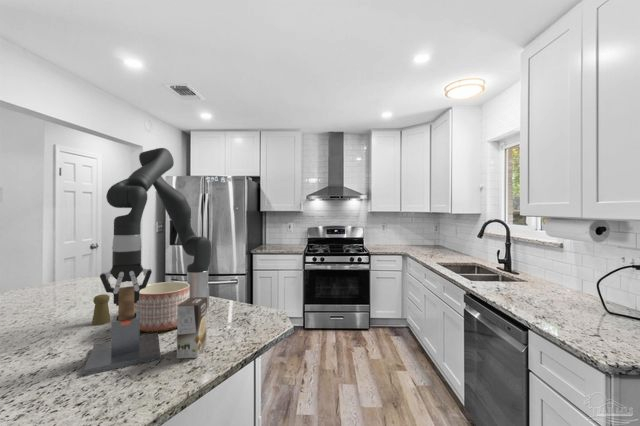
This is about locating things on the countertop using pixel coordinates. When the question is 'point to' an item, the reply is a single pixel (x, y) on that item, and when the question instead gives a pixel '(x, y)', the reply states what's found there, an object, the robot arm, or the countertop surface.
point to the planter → (161, 305)
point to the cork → (101, 310)
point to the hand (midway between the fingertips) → (126, 303)
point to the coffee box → (191, 327)
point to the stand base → (123, 347)
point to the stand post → (126, 303)
